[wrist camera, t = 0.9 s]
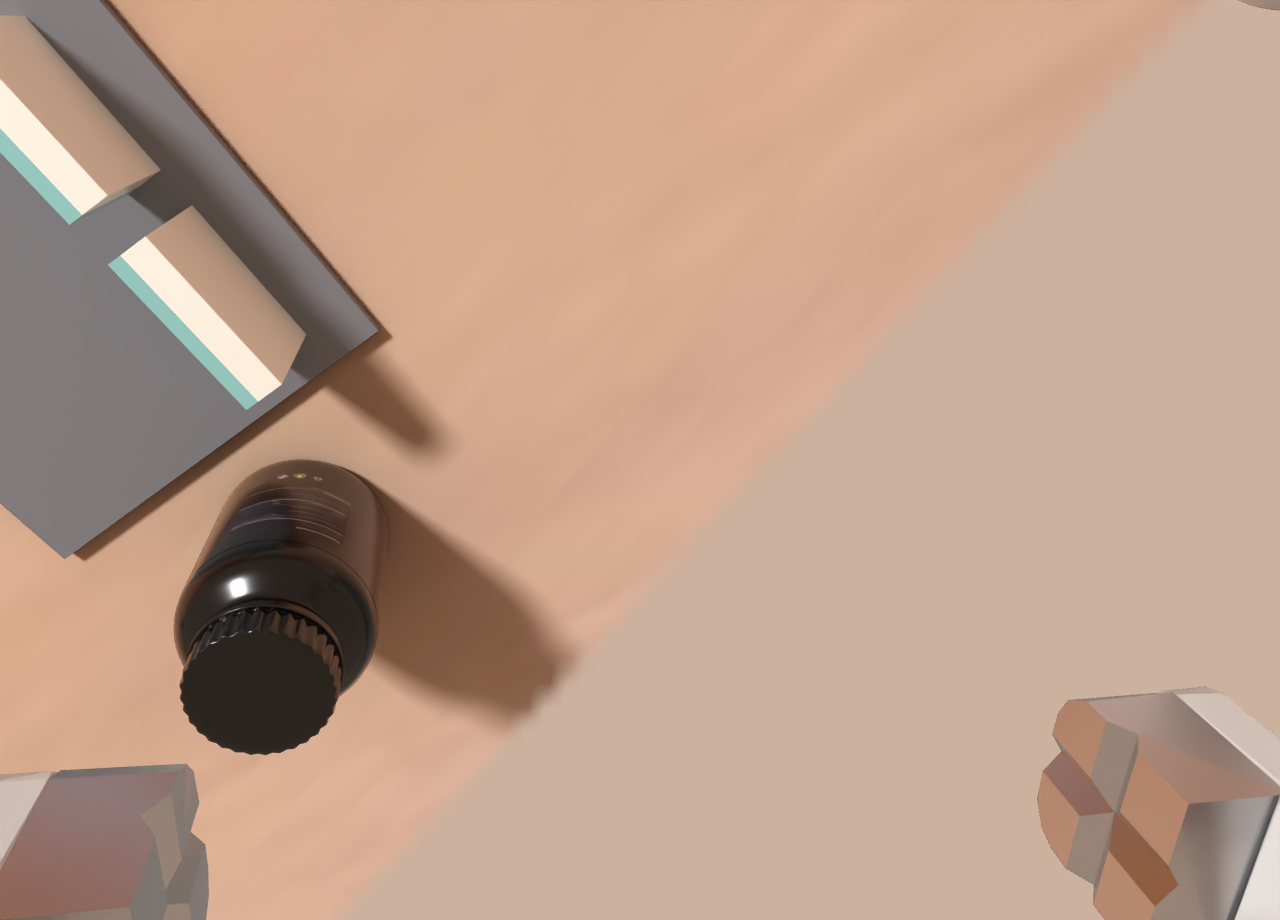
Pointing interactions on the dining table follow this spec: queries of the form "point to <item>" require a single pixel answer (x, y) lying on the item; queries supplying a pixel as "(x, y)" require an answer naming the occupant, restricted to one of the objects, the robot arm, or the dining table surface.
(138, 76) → the mat
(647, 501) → the dining table surface
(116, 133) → the tile
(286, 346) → the tile
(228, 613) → the supplement bottle
